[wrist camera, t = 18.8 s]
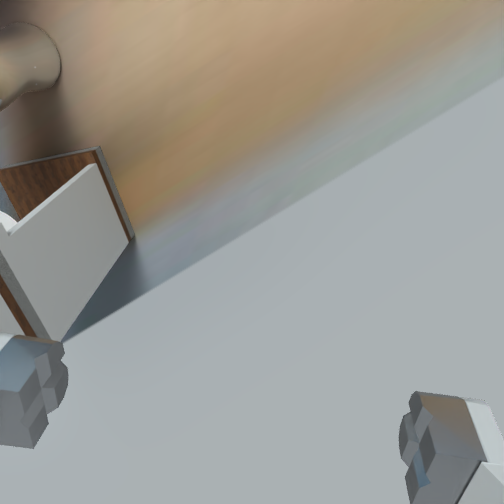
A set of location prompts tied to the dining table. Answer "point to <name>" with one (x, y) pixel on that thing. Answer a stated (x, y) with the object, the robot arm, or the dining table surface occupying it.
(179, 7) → the dining table surface
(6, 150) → the dining table surface
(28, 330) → the display case
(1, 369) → the robot arm
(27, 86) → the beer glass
